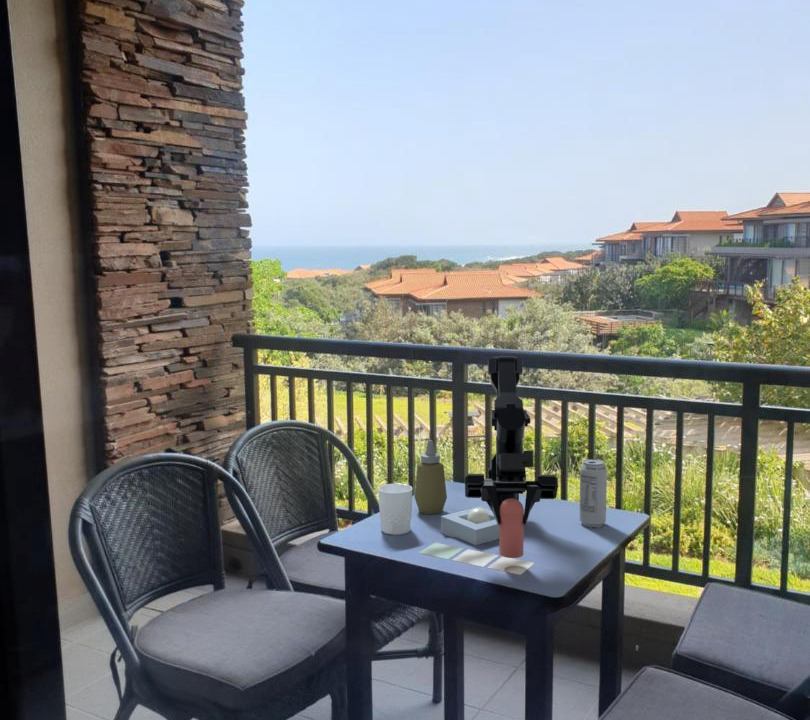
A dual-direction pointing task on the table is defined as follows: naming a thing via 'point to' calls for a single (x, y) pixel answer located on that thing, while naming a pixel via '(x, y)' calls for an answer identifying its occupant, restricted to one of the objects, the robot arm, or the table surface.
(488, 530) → the button box
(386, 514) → the white cup
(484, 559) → the track
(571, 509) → the table surface
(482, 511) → the plunger
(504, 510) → the red domed cylinder
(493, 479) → the robot arm
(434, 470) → the squeeze bottle
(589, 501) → the energy drink can
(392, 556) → the table surface
